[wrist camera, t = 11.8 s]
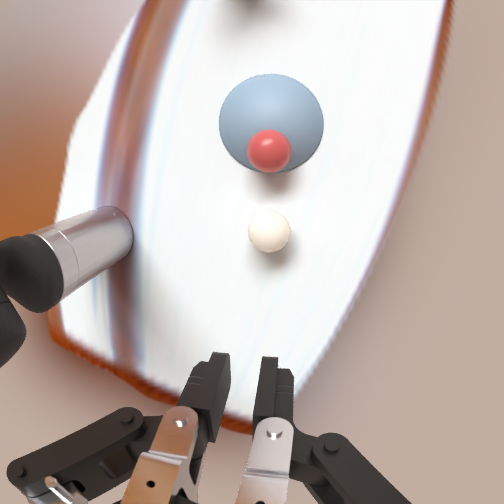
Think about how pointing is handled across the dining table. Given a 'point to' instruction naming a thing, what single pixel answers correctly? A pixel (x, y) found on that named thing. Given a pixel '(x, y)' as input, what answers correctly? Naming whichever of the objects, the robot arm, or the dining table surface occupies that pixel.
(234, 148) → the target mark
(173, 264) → the dining table surface
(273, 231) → the cue ball
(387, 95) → the dining table surface
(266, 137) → the red ball
